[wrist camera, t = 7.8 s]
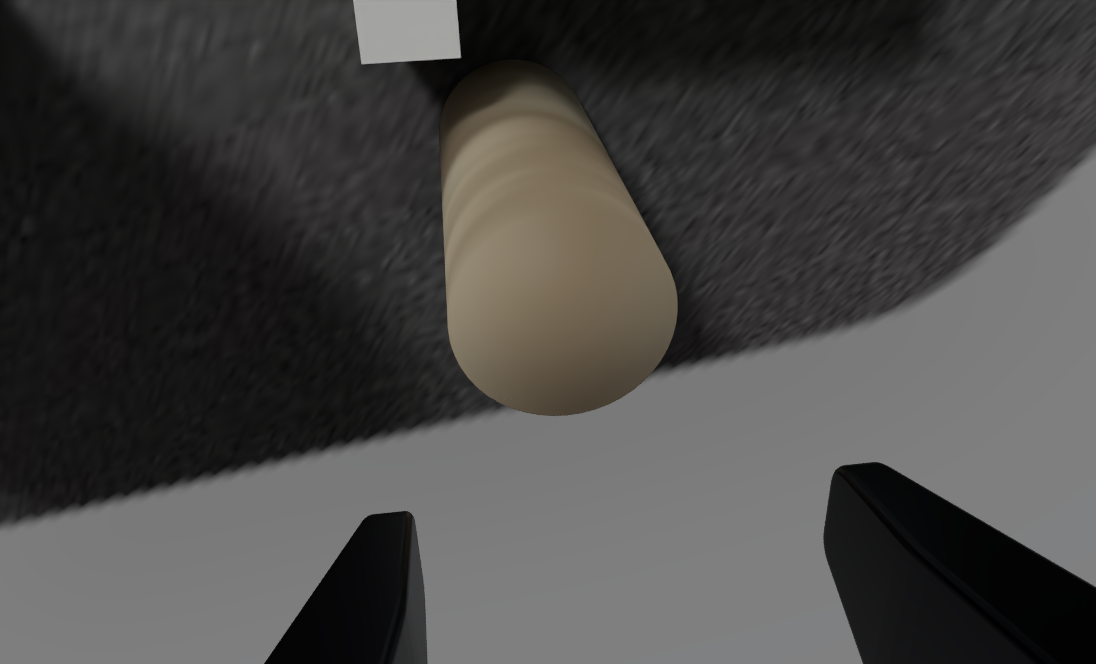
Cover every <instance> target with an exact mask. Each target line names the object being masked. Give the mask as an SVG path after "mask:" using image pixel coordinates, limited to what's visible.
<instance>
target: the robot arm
mask: <svg viewBox="0 0 1096 664" xmlns="http://www.w3.org/2000/svg"><path fill="white" fill-rule="evenodd" d="M824 548H825V554H826V558H827V561H828V564H829V567H830V570H831V573H832V576H833V579H834V581H835V584H836V587H837V590H838V593H839V596H840V599H841V602H842V605H843V608H844V610H845V613H846V616H847V619H848V622H849V625H850V627H851V630H852V633H853V636H854V639H855V642H856V645H857V648H858V651H859V653H860V656H861V659H862V662H863V664H1096V587H1095V586H1093V585H1091V584H1090V583H1088V582H1086V581H1084V580H1083V579H1081V578H1079V577H1078V576H1076V575H1074V574H1072V573H1071V572H1069V571H1067V570H1065V569H1064V568H1062V567H1060V566H1059V565H1057V564H1055V563H1053V562H1051V561H1050V560H1048V559H1047V558H1045V557H1043V556H1041V555H1040V554H1038V553H1036V552H1035V551H1033V550H1031V549H1029V548H1028V547H1026V546H1024V545H1023V544H1021V543H1019V542H1017V541H1016V540H1014V539H1012V538H1011V537H1008V536H1007V535H1005V534H1004V533H1002V532H1000V531H999V530H997V529H995V528H993V527H992V526H990V525H988V524H986V523H985V522H983V521H981V520H980V519H978V518H976V517H974V516H973V515H971V514H969V513H968V512H966V511H964V510H962V509H961V508H959V507H957V506H956V505H953V504H952V503H950V502H949V501H947V500H945V499H943V498H942V497H940V496H938V495H937V494H935V493H933V492H931V491H930V490H928V489H926V488H925V487H923V486H921V485H919V484H918V483H916V482H914V481H913V480H911V479H909V478H907V477H906V476H904V475H902V474H901V473H898V472H897V471H895V470H894V469H892V468H890V467H888V466H886V465H884V464H882V463H878V462H871V463H862V464H852V465H844V466H841V467H839V468H838V469H836V470H835V472H834V474H833V477H832V480H831V486H830V493H829V500H828V507H827V514H826V521H825V527H824ZM264 664H427V640H426V614H425V594H424V584H423V575H422V568H421V561H420V554H419V546H418V540H417V532H416V526H415V520H414V517H413V515H412V514H411V513H410V512H408V511H401V512H392V513H382V514H373V515H370V516H368V517H366V518H365V519H364V520H363V521H362V523H361V524H360V525H359V527H358V528H357V530H356V531H355V533H354V534H353V536H352V537H351V538H350V540H349V542H348V543H347V544H346V546H345V547H344V549H343V550H342V551H341V553H340V555H339V556H338V558H337V559H336V560H335V562H334V563H333V565H332V566H331V568H330V569H329V570H328V572H327V573H326V575H325V576H324V578H323V579H322V581H321V582H320V583H319V585H318V586H317V588H316V589H315V591H314V592H313V594H312V595H311V596H310V598H309V599H308V601H307V602H306V604H305V605H304V607H303V608H302V610H301V611H300V613H299V614H298V616H297V617H296V618H295V620H294V621H293V623H292V624H291V626H290V627H289V629H288V630H287V631H286V633H285V634H284V636H283V637H282V639H281V641H280V642H279V643H278V644H277V646H276V647H275V649H274V650H273V652H272V653H271V655H270V656H269V657H268V659H267V660H266V662H265V663H264Z"/></svg>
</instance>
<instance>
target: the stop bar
mask: <svg viewBox="0 0 1096 664" xmlns="http://www.w3.org/2000/svg"><path fill="white" fill-rule="evenodd" d="M353 2H354V10H355V17H356V25H357V33H358V40H359V48H360V55H361V63H362V64H371V63H387V62H403V61H420V60H436V59H452V58H461V53H460V40H459V27H458V15H457V2H456V0H353Z"/></svg>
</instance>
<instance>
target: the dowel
mask: <svg viewBox="0 0 1096 664" xmlns="http://www.w3.org/2000/svg"><path fill="white" fill-rule="evenodd" d="M439 143H440V165H441V187H442V208H443V230H444V252H445V274H446V295H447V317H448V332H449V338H450V343H451V346H452V349H453V352H454V355H455V357H456V359H457V361H458V363H459V365H460V367H461V368H462V370H463V371H464V373H465V374H466V375H467V377H468V378H469V379H470V380H471V381H472V382H473V383H474V384H475V385H476V386H477V388H479V389H480V390H481V391H482V392H484V393H485V394H486V395H487V396H489V397H491V398H492V399H494V400H496V401H497V402H499V403H501V404H503V405H506V406H508V407H510V408H512V409H516V410H519V411H522V412H526V413H531V414H537V415H547V416H561V415H572V414H579V413H583V412H587V411H591V410H595V409H597V408H600V407H603V406H605V405H608V404H610V403H612V402H614V401H616V400H618V399H620V398H621V397H623V396H625V395H626V394H628V393H629V392H631V391H632V390H633V389H635V388H636V387H637V386H638V385H639V384H641V383H642V382H643V381H644V380H645V379H646V378H647V377H648V376H649V375H650V374H651V373H652V372H653V370H654V369H655V368H656V366H657V365H658V364H659V362H660V361H661V360H662V358H663V356H664V354H665V353H666V351H667V349H668V347H669V344H670V342H671V339H672V337H673V334H674V330H675V326H676V321H677V312H678V304H677V293H676V287H675V283H674V280H673V277H672V274H671V271H670V269H669V267H668V265H667V264H666V262H665V260H664V258H663V256H662V254H661V252H660V250H659V249H658V247H657V245H656V243H655V241H654V239H653V237H652V236H651V234H650V232H649V230H648V228H647V226H646V224H645V223H644V221H643V219H642V217H641V215H640V213H639V211H638V209H637V208H636V206H635V204H634V202H633V200H632V198H631V196H630V195H629V193H628V191H627V189H626V187H625V185H624V183H623V182H622V180H621V178H620V176H619V174H618V172H617V170H616V169H615V167H614V165H613V163H612V161H611V159H610V157H609V156H608V154H607V152H606V150H605V148H604V146H603V144H602V143H601V141H600V139H599V137H598V135H597V133H596V131H595V130H594V128H593V126H592V124H591V122H590V120H589V118H588V117H587V115H586V113H585V111H584V109H583V107H582V105H581V104H580V102H579V100H578V98H577V96H576V94H575V93H574V91H573V90H572V88H571V87H570V86H569V85H568V83H567V82H566V81H565V80H564V79H563V78H562V77H560V76H559V75H558V74H557V73H555V72H554V71H552V70H550V69H549V68H547V67H545V66H542V65H540V64H538V63H534V62H531V61H526V60H501V61H496V62H492V63H489V64H487V65H484V66H482V67H480V68H478V69H476V70H474V71H473V72H471V73H470V74H468V75H467V76H466V77H465V78H463V79H462V80H461V81H460V82H459V83H458V84H457V86H456V87H455V88H454V89H453V91H452V92H451V94H450V95H449V97H448V99H447V101H446V103H445V105H444V108H443V110H442V114H441V118H440V125H439Z"/></svg>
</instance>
